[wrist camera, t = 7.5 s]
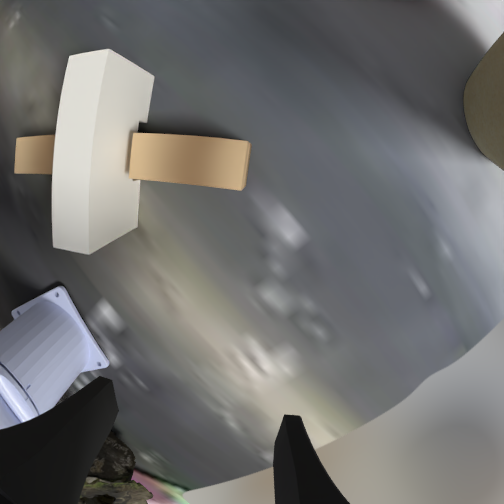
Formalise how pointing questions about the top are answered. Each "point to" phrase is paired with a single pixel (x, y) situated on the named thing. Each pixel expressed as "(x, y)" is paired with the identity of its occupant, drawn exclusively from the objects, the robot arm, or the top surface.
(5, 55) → the top surface
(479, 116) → the plant pot
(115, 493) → the hollow geode rock
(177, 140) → the wooden bar
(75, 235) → the white flat block
